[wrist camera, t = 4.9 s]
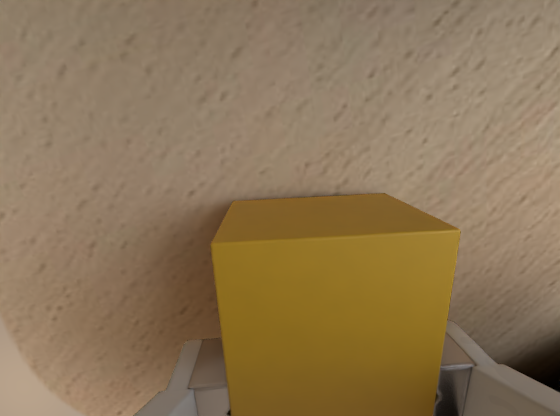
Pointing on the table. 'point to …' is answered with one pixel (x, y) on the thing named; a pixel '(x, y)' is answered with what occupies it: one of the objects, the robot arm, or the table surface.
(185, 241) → the table surface
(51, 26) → the table surface
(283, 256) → the yellow box
